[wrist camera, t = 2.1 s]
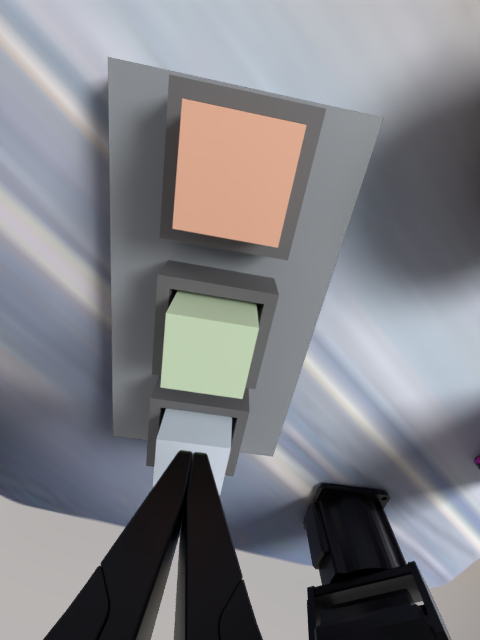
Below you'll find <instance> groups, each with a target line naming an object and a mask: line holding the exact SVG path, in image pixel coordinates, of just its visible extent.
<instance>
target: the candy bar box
mask: <svg viewBox="0 0 480 640" xmlns="http://www.w3.org/2000/svg"><path fill="white" fill-rule="evenodd" d="M474 462H475V464H476V465H477V466H478V468H479V469H480V456H479V457H478V458H476V459H475V461H474Z"/></svg>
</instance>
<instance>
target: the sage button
mask: <svg viewBox="0 0 480 640" xmlns="http://www.w3.org/2000/svg"><path fill="white" fill-rule="evenodd" d="M258 331H259V322H258V313H257V304H256V303H254V302H248V301H242V300H236V299H230V298H224V297H218V296H212V295H206V294H200V293H194V292H188V291H182V290H178V291H177V293H176V295H175V297H174V299H173V301H172V303H171V304H170V306H169V308H168V310H167V312H166V319H165V333H164V346H163V359H162V372H161V385H160V387H161V388H168V389H175V390H182V391H189V392H196V393H203V394H210V395H217V396H224V397H231V398H239V399H243V395H244V391H245V386H246V382H247V378H248V374H249V369H250V365H251V361H252V356H253V352H254V348H255V344H256V339H257V335H258Z"/></svg>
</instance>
